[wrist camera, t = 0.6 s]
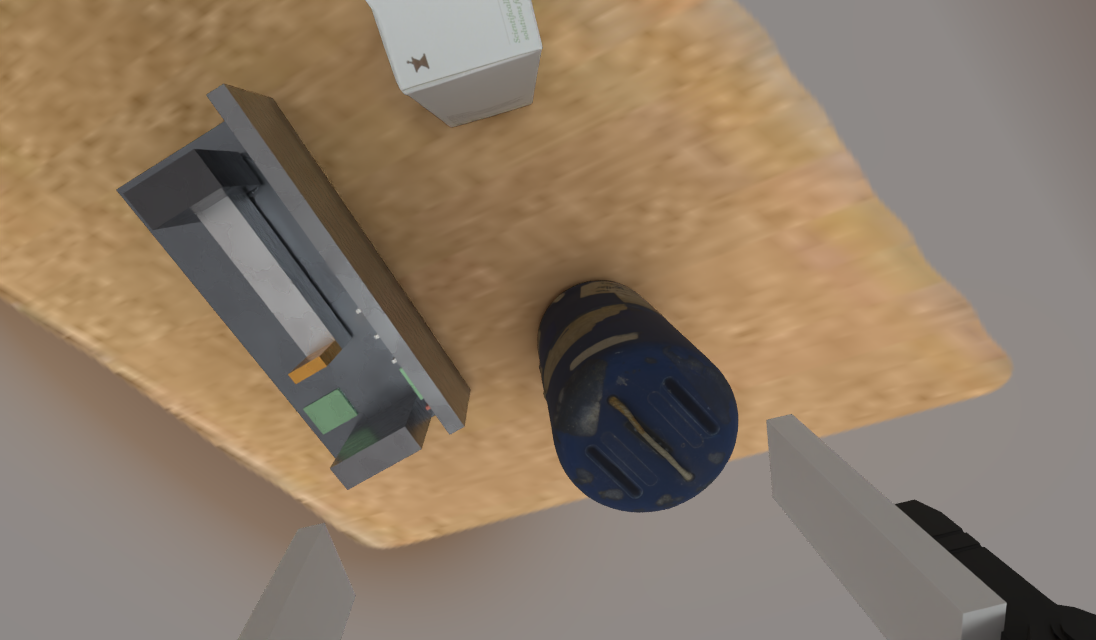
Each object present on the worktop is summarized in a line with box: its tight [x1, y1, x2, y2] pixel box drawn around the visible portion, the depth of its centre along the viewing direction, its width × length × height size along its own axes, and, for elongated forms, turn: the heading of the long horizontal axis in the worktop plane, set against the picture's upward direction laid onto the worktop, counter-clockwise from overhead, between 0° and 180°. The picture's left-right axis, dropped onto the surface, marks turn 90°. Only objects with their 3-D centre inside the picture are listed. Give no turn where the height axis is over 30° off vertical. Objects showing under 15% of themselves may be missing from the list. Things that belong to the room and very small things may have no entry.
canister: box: [538, 281, 738, 512], centre depth 32 cm, size 10×10×18 cm
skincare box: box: [365, 0, 543, 127], centre depth 27 cm, size 8×7×16 cm
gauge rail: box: [117, 84, 470, 490], centre depth 35 cm, size 25×12×7 cm, turn 29°
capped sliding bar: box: [123, 149, 352, 384], centre depth 33 cm, size 14×5×6 cm, turn 29°
